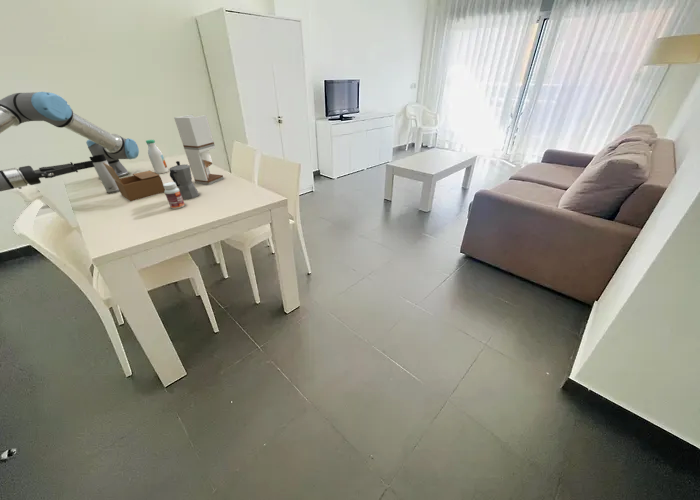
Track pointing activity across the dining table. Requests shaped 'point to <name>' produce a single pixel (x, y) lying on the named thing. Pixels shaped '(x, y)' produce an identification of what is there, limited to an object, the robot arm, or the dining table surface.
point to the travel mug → (104, 173)
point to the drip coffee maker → (197, 146)
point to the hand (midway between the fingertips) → (92, 163)
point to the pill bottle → (173, 195)
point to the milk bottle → (156, 157)
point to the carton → (140, 185)
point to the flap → (112, 173)
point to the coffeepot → (183, 180)
